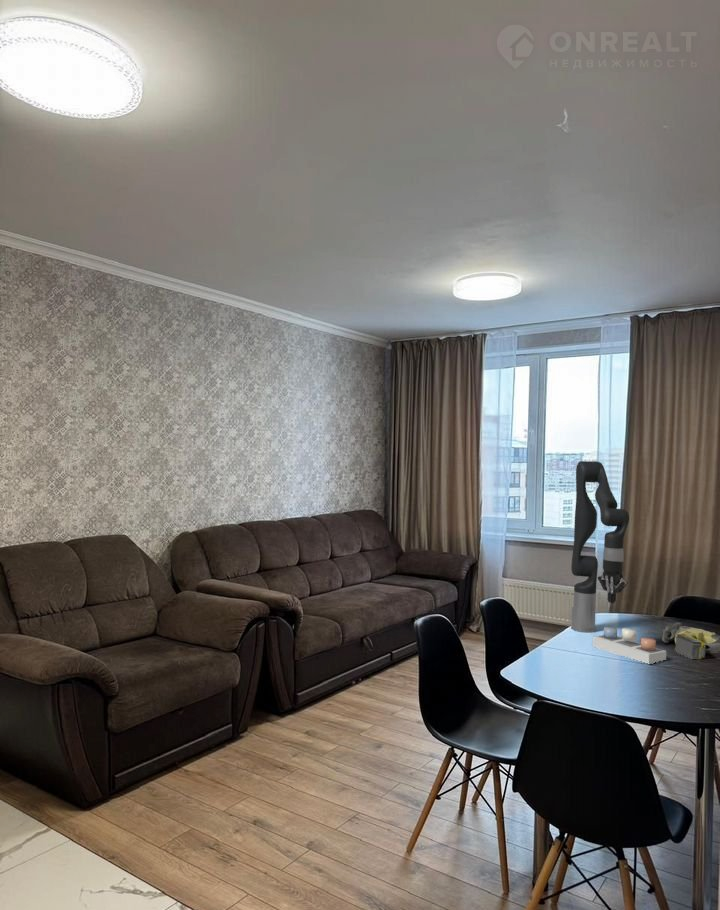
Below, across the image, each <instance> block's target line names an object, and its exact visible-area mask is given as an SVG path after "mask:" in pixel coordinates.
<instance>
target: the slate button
mask: <svg viewBox="0 0 720 910" xmlns="http://www.w3.org/2000/svg"><path fill="white" fill-rule="evenodd" d="M603 635H604V637H605V638H608V639H617V636H618V628H617V627H613V626H604V627H603Z"/></svg>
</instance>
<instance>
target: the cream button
mask: <svg viewBox="0 0 720 910" xmlns="http://www.w3.org/2000/svg"><path fill="white" fill-rule="evenodd" d="M621 637H622V639H624V640H628V641H635V642H636V641H637V630H636V629H634V628H629V627H623V628H621Z"/></svg>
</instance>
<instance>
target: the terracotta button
mask: <svg viewBox="0 0 720 910" xmlns="http://www.w3.org/2000/svg"><path fill="white" fill-rule="evenodd" d="M640 639H641V640H640V643H641V649H643V650H647V651H655V650H656V648H657V647H656V646H657V639H655V638H651V637H650V638H649V637H641V638H640Z"/></svg>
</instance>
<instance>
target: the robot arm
mask: <svg viewBox="0 0 720 910" xmlns="http://www.w3.org/2000/svg"><path fill="white" fill-rule="evenodd" d="M587 483H597V484H598V485H597V488H596V490H595V493H594V498H595V502H596V503H597V505H598V508H599V512H600V523H602V525H603V526H606V527H615V529H614V530H612V531H608V532H605V534H604V545H603V552H602V554H603V555H602V570H603V571H602V574H601V575H599V576H598V568H599V562H598V558H597V556H595V555H583V554H582V551H583V548H584V547H585V544H586V543H587V542H588V540H589V539H590V538H591V536H592V535H593V534H594V533H595V531H596V529H597V526H598V525H597V524H598V523H597V522H598V512H597V509H596V507H595V505H594V503H593V502H592V500H591V498H590V497H589V495H588V493H587V488H586V484H587ZM575 486H576V487H575V489H576V490H575V491H576V492H575V494H576V495H575V500H576V501H575V511H574V524H573V525H574V533H573V535H574V536H573V545H572V546H573V547H572V557H571V566H570V567H571V573H572V575H573V576H575V577H584V578H585V577H588V578H587V579H585V580H584V581H581V582H578V583H575V584H574V586H573V587H574V589H573V606H571V614H570V615H571V616H570V617H571V619H570V629H571V630H573V631H574V632H577V633H584V634H590V633H591V634H592V633H595V632H596V630H595V629H596V609H597V608H596V607H597V606H596V605H597V604H596V603H597V584H598V583H597V581H599V583H600V585H601V588H602V590H603V591H606V593H607V603H611V604H614V603H615V602H616V600H617V594H619V593H621V592H623V590H624V589H625V588H626V587H627V585H628V581H625V579H624V576H623V572H624V559H625V558H624V557H625V556H624V554H625V553H624V538H625V536H626V535H625V534H626V530H627V528H628V525H629V522H630V515H629V512H628V510H627V509H625V508H618V502H617V500H616V498H615V496H614V494H613V492H612V490H611V487H610V483H609V480H608V476H607V473H606V470H605V466H604V464H603V463H602V462H600V461H595V460H593V461H589V460H587V461H586V460H585V461H584V460H583V461H582V460H581V461H578V462H577V465H576V468H575Z"/></svg>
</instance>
